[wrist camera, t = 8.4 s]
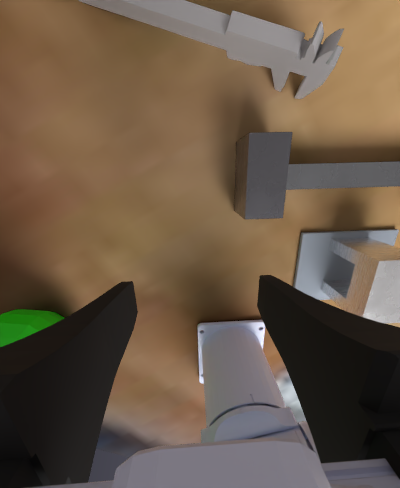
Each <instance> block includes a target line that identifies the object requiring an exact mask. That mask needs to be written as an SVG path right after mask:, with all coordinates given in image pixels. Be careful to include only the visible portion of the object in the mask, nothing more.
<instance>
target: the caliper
mask: <svg viewBox="0 0 400 488" xmlns="http://www.w3.org/2000/svg"><path fill="white" fill-rule="evenodd" d="M78 1H81V2H83V3H86V4H89V5H92V6H95V7H98V8H101V9H104V10H107V11H110V12H113V13H116V14H119V15H122V16H125V17H128V18H131V19H134V20H137V21H140V22H143V23H146V24H149V25H152V26H155V27H158V28H161V29H164V30H167V31H170V32H173V33H176V34H179V35H182V36H185V37H188V38H191V39H194V40H197V41H200V42H203V43H206V44H209V45H212V46H215V47H218V48H221V49H224V50H226V51H227V57H228V58H229V59H232V60H238V61H241V62H243V63H245V64H247V65H253V66H265V67H268V68H271V70H272V76H273V82H274V87H275V90H277V91H280V92H281V90H282V88H283V87H284V85H285V82H286V80H287V78H288V75H289V73H290V72H293V73H296V74H299V75H303V76H305V77H304V79H303V80H302V82H301V84H300V86H299V88H298V90H297V93H296V95H295V98H297V99H302V98H303V97H305V96H307V95H308V94H310V93H311V92H312V91H314V90H315V89H317V88H318V87H320V86H321V85H322V84H323V83H324V82H325V80H326V79H327V77H328V76H329V74H330V73H331V71H332V70H333V69H334V67H335V65H336V63H337V60H338V58H339V56H340V54H341V52H342V49H343V47H341V46H338V45H337V44H338V41H339V39H340V37H341V35H342V32H343V30H344V29H339V30H337V31H335V32H334V33H332V34H331V35H330V36H328V37H327V38H326V39H325V41H324V43H323V44H321V41H322V39H323V35H324V31H323V23H322V22H319V24H318V26H317V28H316V30H315V32H314V35H313V37H312V38H311V39H309V41H307V40H305V39H304V36H305V34H304V33H303V32H300V31H297V30H294V29H291V28H288V27H284V26H281V25H278V24H275V23H272V22H269V21H265V20H262V19H259V18H256V17H253V16H249V15H246V14H243V13H240V12H237V11H234V10H233V11H232V13H231V15H228V14H225V13H222V12H219V11H215V10H212V9H209V8H206V7H203V6H200V5H197V4H194V3H191V2H188V1H185V0H78Z"/></svg>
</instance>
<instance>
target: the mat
mask: <svg viewBox="0 0 400 488" xmlns="http://www.w3.org/2000/svg"><path fill="white" fill-rule="evenodd" d="M398 231H399V230H397V229H384V230H358V231H332V232H306V233H301V237H300V244H299V251H298V257H297V264H296V271H295V278H294V285H293V287H294V288H296V289H298V290H300V291H302V292H303V293H305V294H307V295H309V296H311V297H314V298H316V299H318V300H325V299H331V298H329V297H328V296H327V295H326V294H325V293H324V292H323V291H322V290H321V287H322V282H323V280H343V279H352V275H353V271H354V267H355V264H354V263H352V262H350V261H348V260H346V259H344V258H343V257H341V256H339V255H337V254H335V253H333V252H332V251H330V250H329V247H330V242H331V239H346V238H371V239H374V240H377V241H380V242H383V243H386V244H389V245H391V246H394V244H395V240H396V237H397V234H398Z"/></svg>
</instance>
